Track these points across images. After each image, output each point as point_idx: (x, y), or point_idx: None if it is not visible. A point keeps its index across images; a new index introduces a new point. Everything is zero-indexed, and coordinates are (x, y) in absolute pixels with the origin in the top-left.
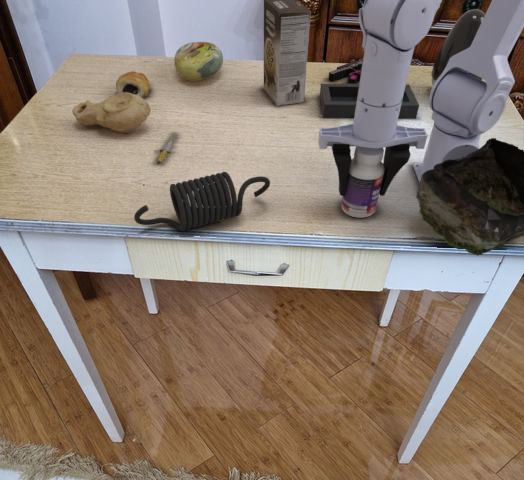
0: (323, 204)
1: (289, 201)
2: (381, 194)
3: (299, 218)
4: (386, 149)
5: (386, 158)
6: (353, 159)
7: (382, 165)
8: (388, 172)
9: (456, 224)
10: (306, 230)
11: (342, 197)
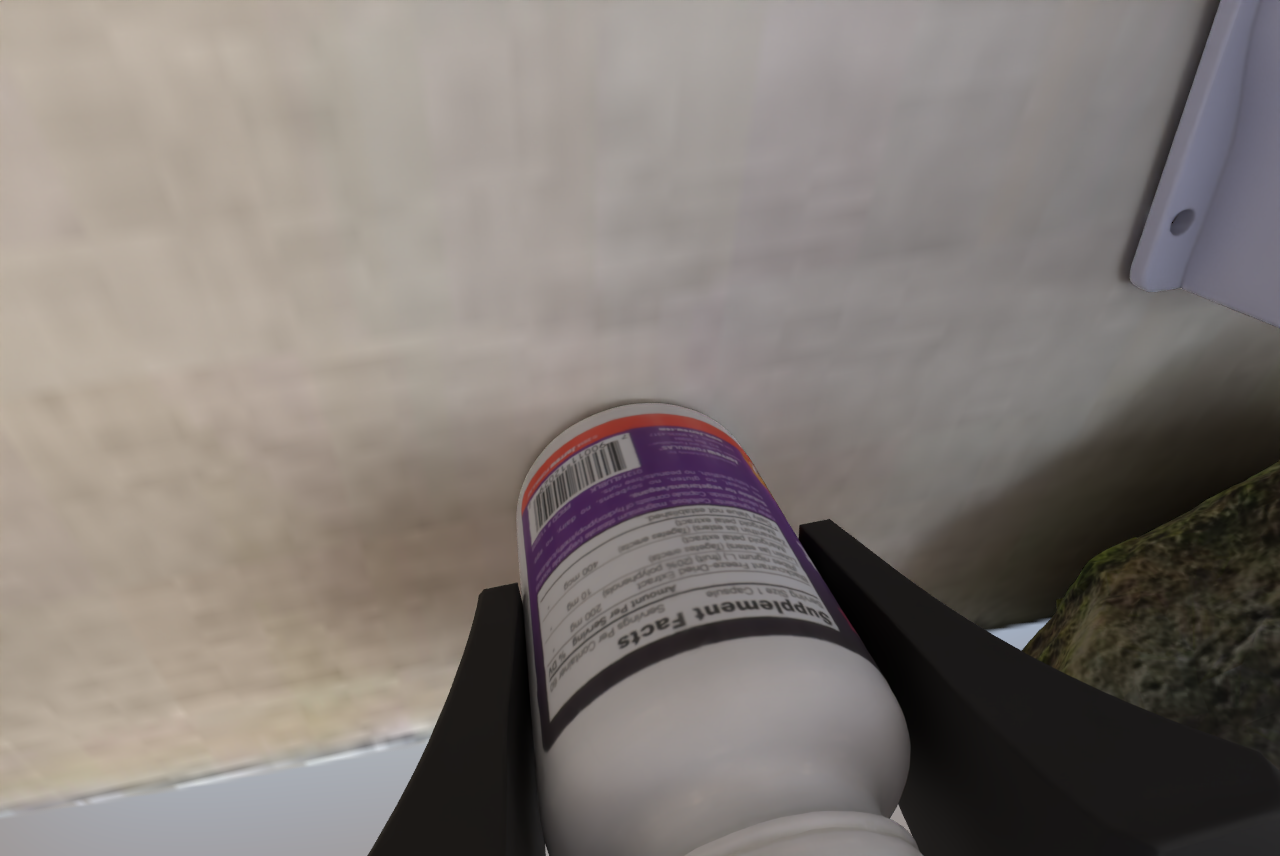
0: (377, 499)
1: (75, 518)
2: None
3: (244, 659)
4: (1029, 820)
5: (968, 798)
6: (605, 836)
7: (892, 810)
8: (911, 832)
9: None
10: (326, 729)
11: (518, 557)
